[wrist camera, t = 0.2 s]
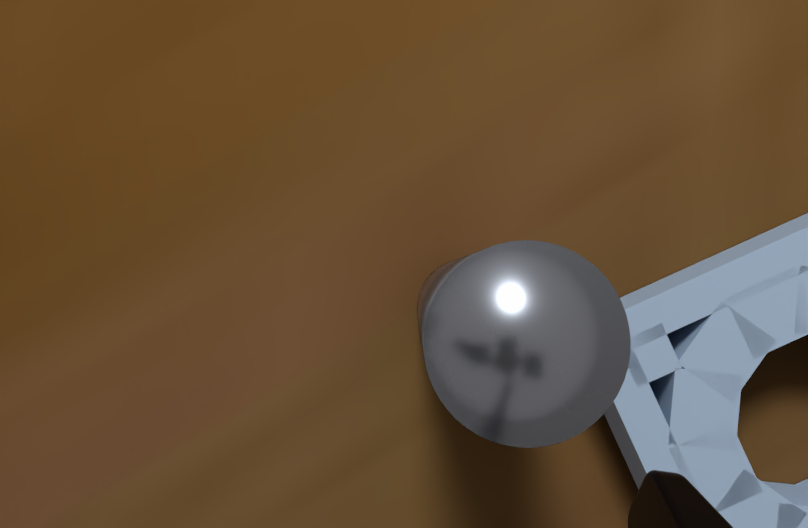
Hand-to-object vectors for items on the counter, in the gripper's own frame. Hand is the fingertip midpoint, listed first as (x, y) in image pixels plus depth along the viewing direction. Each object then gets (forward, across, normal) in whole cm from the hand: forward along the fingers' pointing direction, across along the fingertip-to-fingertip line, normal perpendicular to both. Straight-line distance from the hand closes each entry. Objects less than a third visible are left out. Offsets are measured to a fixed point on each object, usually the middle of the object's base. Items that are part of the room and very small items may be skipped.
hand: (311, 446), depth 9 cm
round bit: (+14, -4, +7) cm, 16 cm away
